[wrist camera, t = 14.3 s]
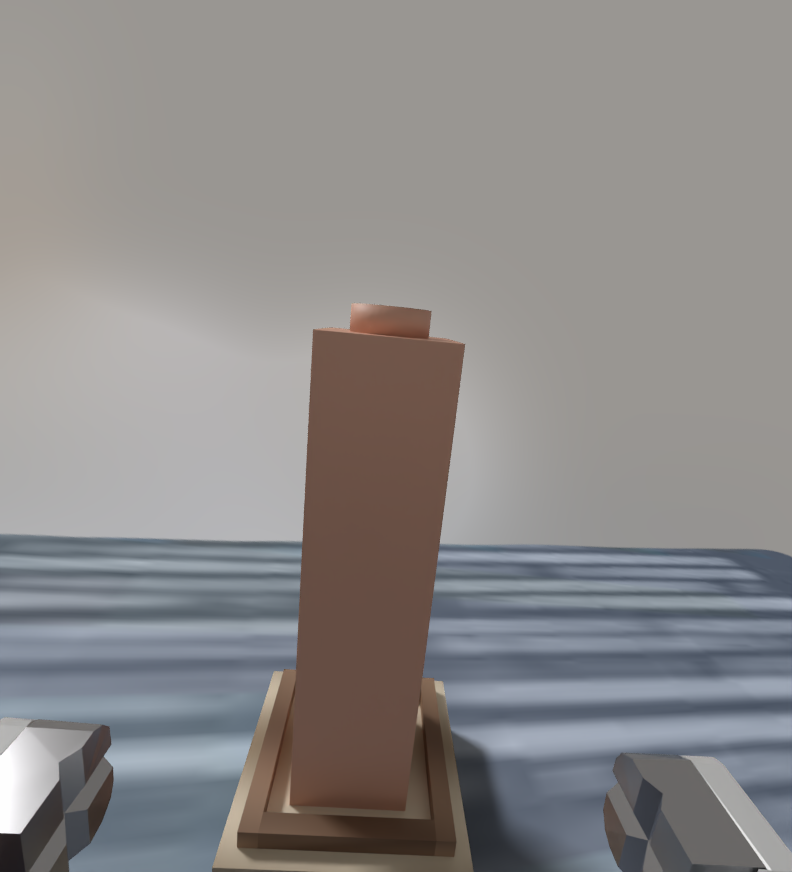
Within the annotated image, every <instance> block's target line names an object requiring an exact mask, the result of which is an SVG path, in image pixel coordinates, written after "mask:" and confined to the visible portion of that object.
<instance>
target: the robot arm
mask: <svg viewBox="0 0 792 872" xmlns="http://www.w3.org/2000/svg"><path fill="white" fill-rule="evenodd" d="M110 745H111V736H110V728H109V727H108V726H105V725H99V724H87V723H75V722H63V721H52V720H40V719H38V720H34V719H21V718H8V717H4V718H3V719H1V720H0V872H69V860H70V859H72V858H73V857H74V856H75V855H76V854H78V853H79V852H80V851H81V850H83V849H84V848H85V847H86V846H88V845H89V844H90V843H91V841H92V839H93V837H94V835H95V833H96V832H97V830H98V828H99V826H100V824H101V822H102V820H103V817H104V815H105V812H106V809H107V806H108V804H109V801H110V798H111V793H112V787H113V780H114V779H113V767H112V766H111V764H110V763H109V762H108V761H107V760H106V759H105V758H104V757H103V756H104V755H105V753H106V752H107V750H108V748H109V747H110ZM613 773H614V775H615V777H616V779H617V781H618V783H617V784H616V785H615V786H614V787H613V788H612V789H610V790H609V791H608V792H607V794H606V799H605V804H604V809H603V811H604V822H605V831H606V835H607V838H608V842H609V846H610V849H611V851H612V854H613V856H614V858H615V861H616V863H617V866H618V867H619V868H620V869H621V870H622V871H623V872H792V853H791V852H790V850H789V849H788V848H787V846H786V845H785V844H784V843H783V841H782V840H781V839H780V837H779V836H778V835H777V833H776V832H775V831H774V830H773V828H772V827H771V826H770V824H769V823H768V822H767V820H766V819H765V818H764V817H763V815H762V814H761V813H760V811H759V810H758V809H757V808H756V806H755V805H754V804H753V802H752V801H751V800H750V798H749V797H748V796H747V795H746V793H745V792H744V791H743V789H742V788H741V787H740V785H739V784H738V783H737V782H736V780H735V779H734V778H733V776H732V775H731V774H730V772H729V771H728V770H727V769H726V767H725V766H724V765H723V764H722V763H721V762H719V761H718V760H717V759H715V758H714V757H700V756H679V755H665V754H640V753H621V754H620V755H619V756H618V757H617V758H616V760H615V764H614V767H613Z"/></svg>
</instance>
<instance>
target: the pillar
mask: <svg viewBox="0 0 792 872" xmlns="http://www.w3.org/2000/svg"><path fill="white" fill-rule="evenodd" d="M430 320H431V311H428V310H421V309H413V308H404V307H394V306H384V305H373V304H358V303H352V306H351V320H350V329H341V328H322V329H314V330H313V346H312V364H311V384H310V404H309V424H308V444H307V463H306V484H305V504H304V524H303V543H302V563H301V583H300V603H299V623H298V643H297V663H296V683H295V703H294V723H293V743H292V763H291V783H290V803H289V805H296V806H316V807H335V808H354V809H373V810H392V811H405V808H406V800H407V793H408V785H409V777H410V769H411V761H412V754H413V746H414V738H415V730H416V723H417V715H418V707H419V699H420V691H421V684H422V676H423V668H424V660H425V652H426V645H427V637H428V629H429V621H430V614H431V606H432V598H433V590H434V582H435V575H436V567H437V559H438V551H439V544H440V535H441V527H442V520H443V512H444V505H445V496H446V489H447V481H448V473H449V466H450V458H451V450H452V442H453V434H454V427H455V419H456V411H457V403H458V395H459V388H460V380H461V372H462V364H463V357H464V348H465V344H463V343H460V342H456V341H453V340H449V339H445V338H435V337H429V329H430Z"/></svg>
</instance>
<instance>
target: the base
mask: <svg viewBox="0 0 792 872" xmlns="http://www.w3.org/2000/svg"><path fill="white" fill-rule="evenodd" d="M295 683H296V670H289V669H284V671H283V672H278V671H274V673H273V676H272V679H271V683H270V686H269V689H268V692H267V695H266V698H265V702H264V705H263V708H262V711H261V714H260V718H259V721H258V724H257V727H256V730H255V733H254V737H253V740H252V743H251V746H250V749H249V753H248V756H247V759H246V762H245V765H244V768H243V772H242V775H241V778H240V781H239V784H238V788H237V791H236V794H235V797H234V800H233V803H232V807H231V810H230V813H229V816H228V819H227V823H226V826H225V829H224V832H223V835H222V838H221V842H220V845H219V848H218V851H217V854H216V857H215V861H214V864H213V867H212V872H474V871H473V865H472V859H471V853H470V846H469V840H468V834H467V828H466V822H465V816H464V809H463V803H462V797H461V791H460V785H459V779H458V772H457V766H456V760H455V754H454V748H453V742H452V735H451V729H450V723H449V717H448V711H447V705H446V698H445V692H444V686H443V682H442V681H434V678H422V684H421V691H420V699H419V707H418V715H417V723H416V730H415V738H414V746H413V754H412V761H411V769H410V777H409V785H408V793H407V800H406V808H405V811H392V810H373V809H354V808H335V807H316V806H296V805H289V803H290V783H291V763H292V743H293V723H294V703H295Z"/></svg>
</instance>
